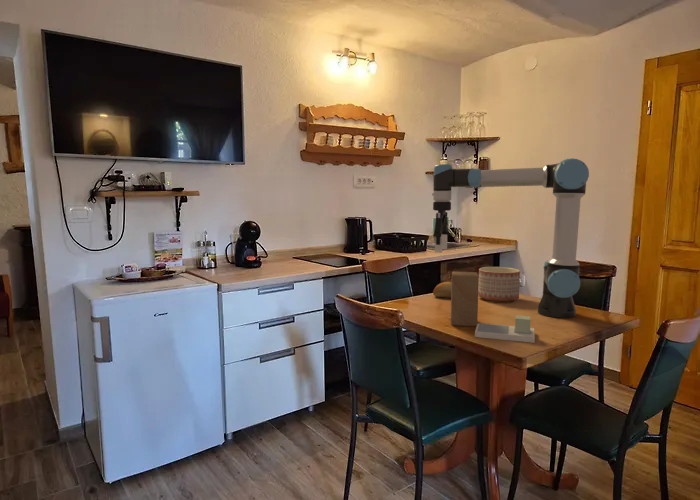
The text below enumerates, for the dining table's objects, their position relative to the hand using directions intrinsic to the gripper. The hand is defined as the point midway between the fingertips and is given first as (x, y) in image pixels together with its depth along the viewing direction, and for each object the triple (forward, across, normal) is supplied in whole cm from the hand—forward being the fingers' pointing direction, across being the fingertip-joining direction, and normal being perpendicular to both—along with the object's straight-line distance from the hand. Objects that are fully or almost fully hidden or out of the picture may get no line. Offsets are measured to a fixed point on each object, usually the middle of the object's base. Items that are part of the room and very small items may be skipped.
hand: (441, 250), depth 200 cm
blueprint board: (+27, +26, +28) cm, 47 cm away
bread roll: (+28, -33, -2) cm, 43 cm away
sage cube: (+25, +25, +34) cm, 49 cm away
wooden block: (+27, +14, +12) cm, 33 cm away
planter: (+27, -37, +22) cm, 51 cm away
